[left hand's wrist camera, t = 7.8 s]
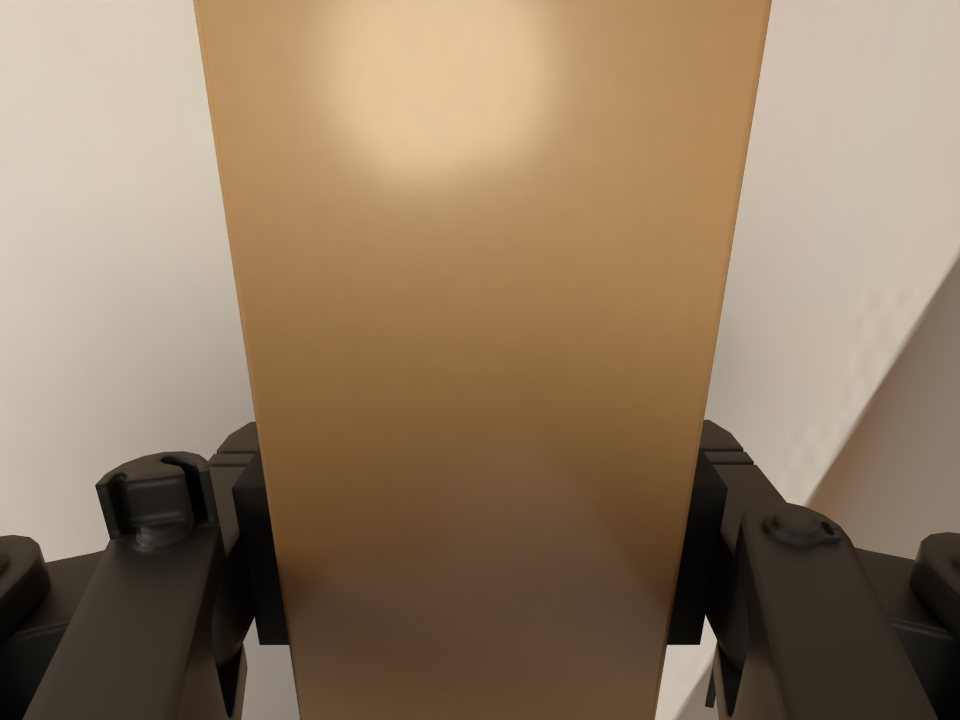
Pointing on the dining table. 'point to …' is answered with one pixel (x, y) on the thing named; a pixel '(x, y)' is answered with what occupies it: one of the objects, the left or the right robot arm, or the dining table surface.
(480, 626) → the post
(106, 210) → the dining table surface
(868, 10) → the dining table surface
